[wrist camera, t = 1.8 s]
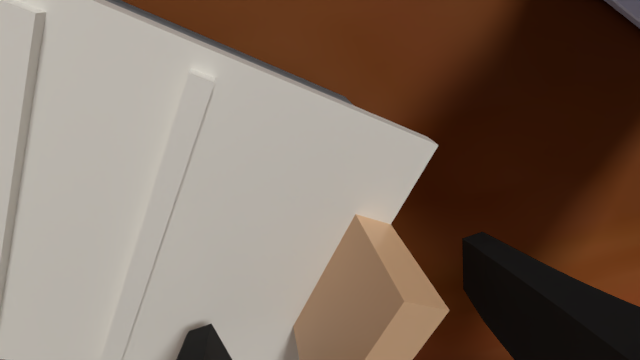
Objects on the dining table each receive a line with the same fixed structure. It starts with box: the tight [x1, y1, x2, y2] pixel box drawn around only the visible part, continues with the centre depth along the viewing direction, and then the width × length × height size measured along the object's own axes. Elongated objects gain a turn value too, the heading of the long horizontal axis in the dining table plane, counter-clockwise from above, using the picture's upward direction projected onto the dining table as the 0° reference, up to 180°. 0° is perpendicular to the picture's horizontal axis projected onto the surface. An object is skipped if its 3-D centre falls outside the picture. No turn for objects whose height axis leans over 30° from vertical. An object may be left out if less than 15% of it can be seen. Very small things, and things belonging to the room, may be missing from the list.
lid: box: [0, 0, 450, 360], centre depth 8 cm, size 15×10×5 cm, turn 65°
